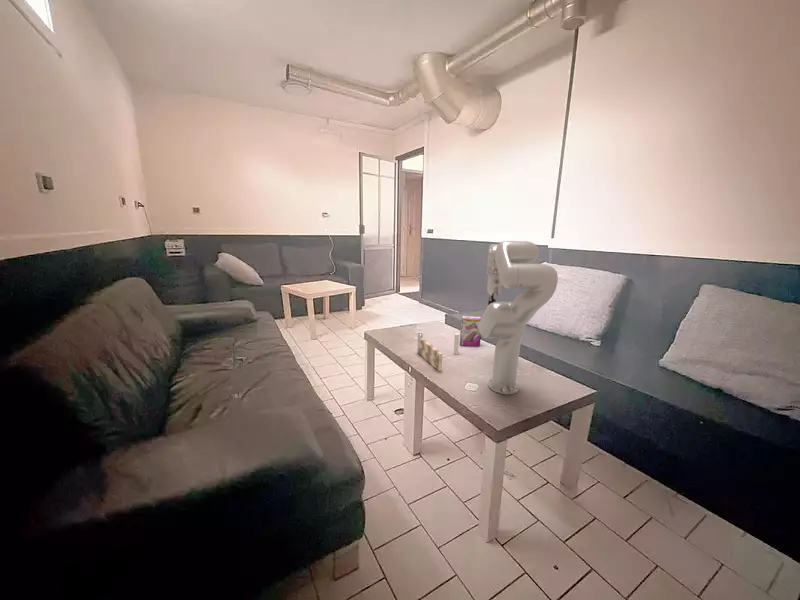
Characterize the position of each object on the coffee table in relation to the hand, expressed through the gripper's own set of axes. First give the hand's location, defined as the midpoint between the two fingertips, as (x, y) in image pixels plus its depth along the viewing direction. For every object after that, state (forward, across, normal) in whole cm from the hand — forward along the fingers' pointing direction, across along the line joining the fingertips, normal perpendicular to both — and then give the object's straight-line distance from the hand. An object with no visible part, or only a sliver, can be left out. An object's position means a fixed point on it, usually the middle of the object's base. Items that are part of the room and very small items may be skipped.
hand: (491, 308), depth 152 cm
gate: (+27, -6, +29) cm, 40 cm away
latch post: (+27, +6, +15) cm, 32 cm away
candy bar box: (+27, +19, +6) cm, 34 cm away
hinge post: (+27, +4, +34) cm, 44 cm away
